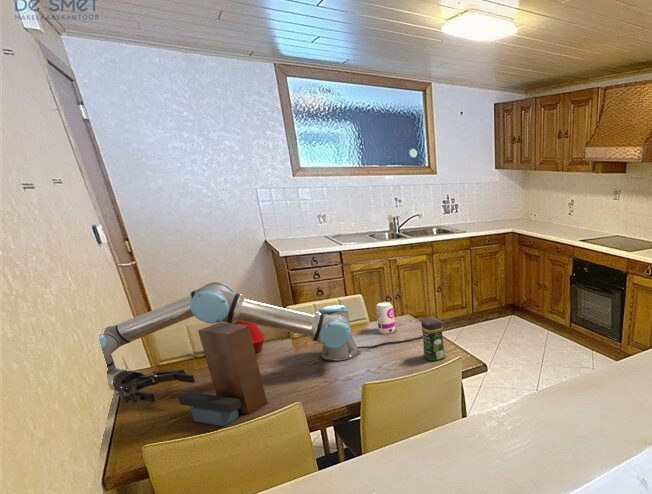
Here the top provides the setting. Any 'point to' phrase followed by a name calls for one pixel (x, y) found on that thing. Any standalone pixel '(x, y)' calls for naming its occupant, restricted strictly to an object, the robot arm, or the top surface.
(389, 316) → the supplement can
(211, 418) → the base pad
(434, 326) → the coffee jar
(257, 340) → the bottle
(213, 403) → the back pad
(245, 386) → the walnut post
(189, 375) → the robot arm
